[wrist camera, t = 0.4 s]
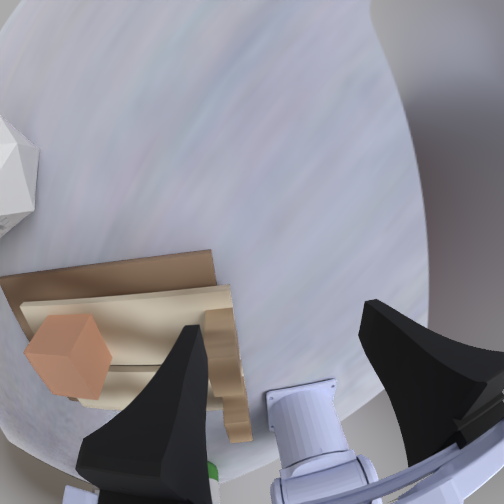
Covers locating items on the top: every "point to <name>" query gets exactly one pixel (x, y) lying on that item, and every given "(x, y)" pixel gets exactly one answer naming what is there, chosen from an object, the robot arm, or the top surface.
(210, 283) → the board
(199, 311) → the slat
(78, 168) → the top surface
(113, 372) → the empty slat
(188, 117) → the top surface
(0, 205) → the die
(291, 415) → the robot arm
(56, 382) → the block
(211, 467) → the wine bottle
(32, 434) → the top surface
